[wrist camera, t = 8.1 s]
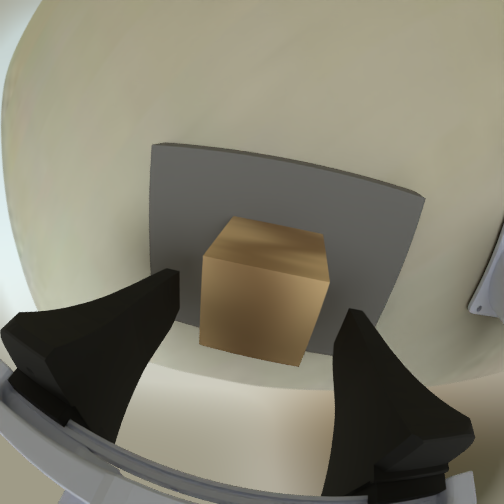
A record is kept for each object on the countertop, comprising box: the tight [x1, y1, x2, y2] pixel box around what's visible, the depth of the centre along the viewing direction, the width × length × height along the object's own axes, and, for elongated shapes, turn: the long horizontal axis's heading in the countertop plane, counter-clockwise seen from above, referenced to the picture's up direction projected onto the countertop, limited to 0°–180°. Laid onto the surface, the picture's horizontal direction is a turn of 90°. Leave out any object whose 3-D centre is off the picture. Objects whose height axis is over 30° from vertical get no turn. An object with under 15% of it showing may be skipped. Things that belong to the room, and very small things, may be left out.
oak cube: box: [199, 216, 330, 367], centre depth 12 cm, size 4×4×4 cm
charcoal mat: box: [149, 143, 426, 356], centre depth 15 cm, size 14×11×2 cm
